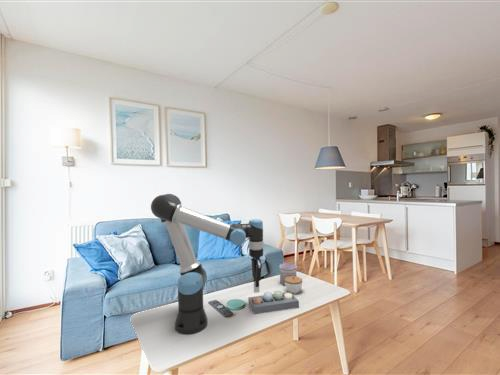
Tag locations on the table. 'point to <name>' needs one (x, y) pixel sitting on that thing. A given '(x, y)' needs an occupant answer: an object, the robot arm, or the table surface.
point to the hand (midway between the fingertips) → (256, 291)
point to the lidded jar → (293, 284)
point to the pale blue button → (267, 297)
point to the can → (287, 271)
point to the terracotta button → (256, 300)
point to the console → (273, 304)
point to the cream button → (288, 296)
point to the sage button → (278, 295)
